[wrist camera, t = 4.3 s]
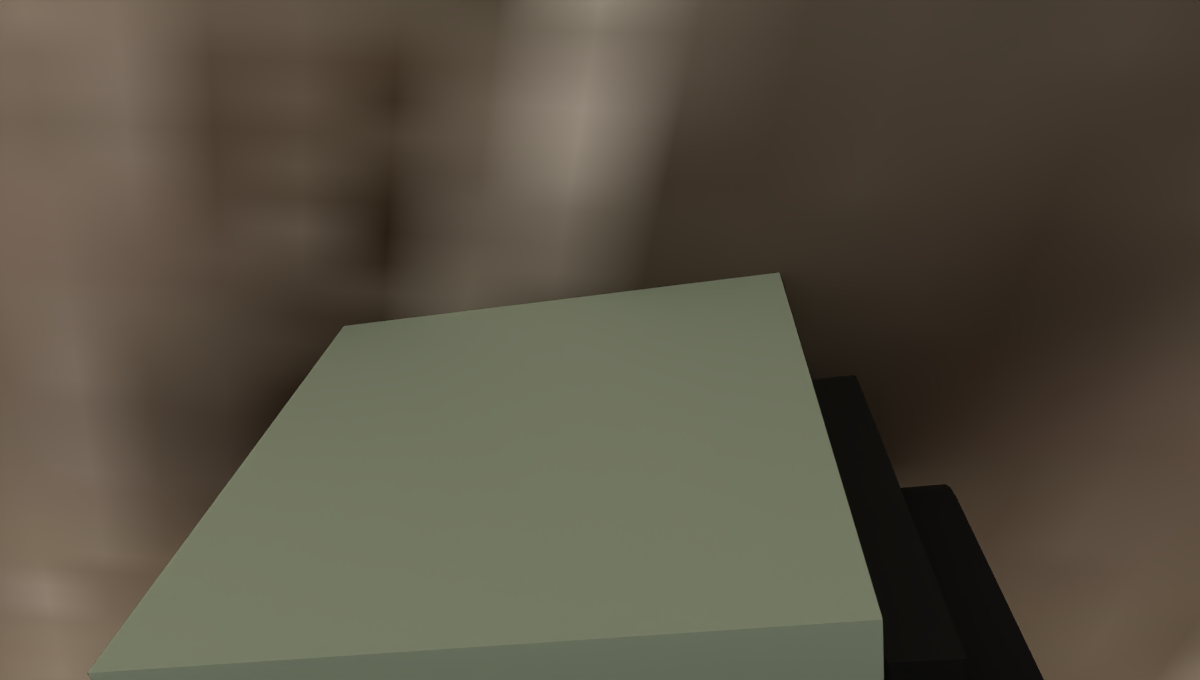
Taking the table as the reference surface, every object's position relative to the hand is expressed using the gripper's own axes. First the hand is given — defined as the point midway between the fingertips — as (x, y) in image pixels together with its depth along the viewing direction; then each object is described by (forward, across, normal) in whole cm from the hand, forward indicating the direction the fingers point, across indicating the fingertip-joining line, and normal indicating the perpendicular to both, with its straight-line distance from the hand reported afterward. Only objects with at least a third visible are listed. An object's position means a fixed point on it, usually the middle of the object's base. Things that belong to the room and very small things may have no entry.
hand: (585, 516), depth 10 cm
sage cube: (+1, 0, 0) cm, 1 cm away
